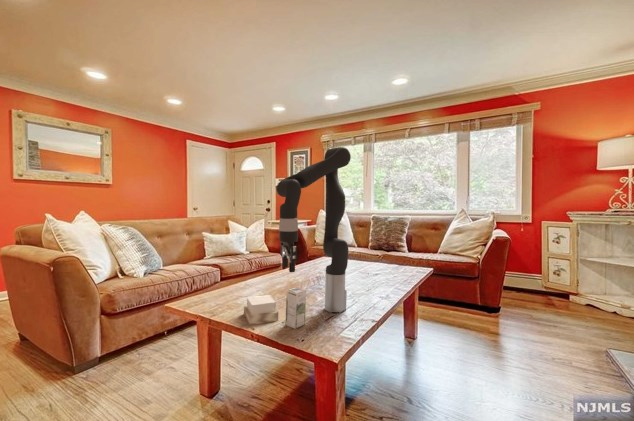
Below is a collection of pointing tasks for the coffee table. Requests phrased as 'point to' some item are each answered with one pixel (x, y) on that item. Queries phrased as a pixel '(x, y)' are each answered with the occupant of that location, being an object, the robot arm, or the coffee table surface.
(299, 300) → the syrup box
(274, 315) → the ash base block
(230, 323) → the coffee table surface
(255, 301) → the off-white top block
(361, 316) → the coffee table surface
